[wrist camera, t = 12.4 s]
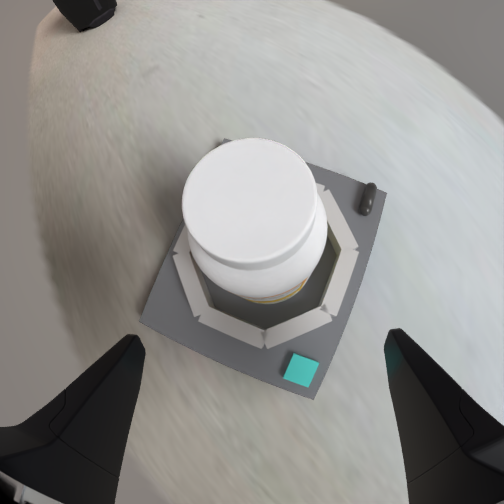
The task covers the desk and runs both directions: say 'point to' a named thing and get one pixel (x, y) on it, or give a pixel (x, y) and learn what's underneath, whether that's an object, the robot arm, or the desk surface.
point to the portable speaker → (86, 11)
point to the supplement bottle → (255, 219)
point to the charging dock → (278, 314)
